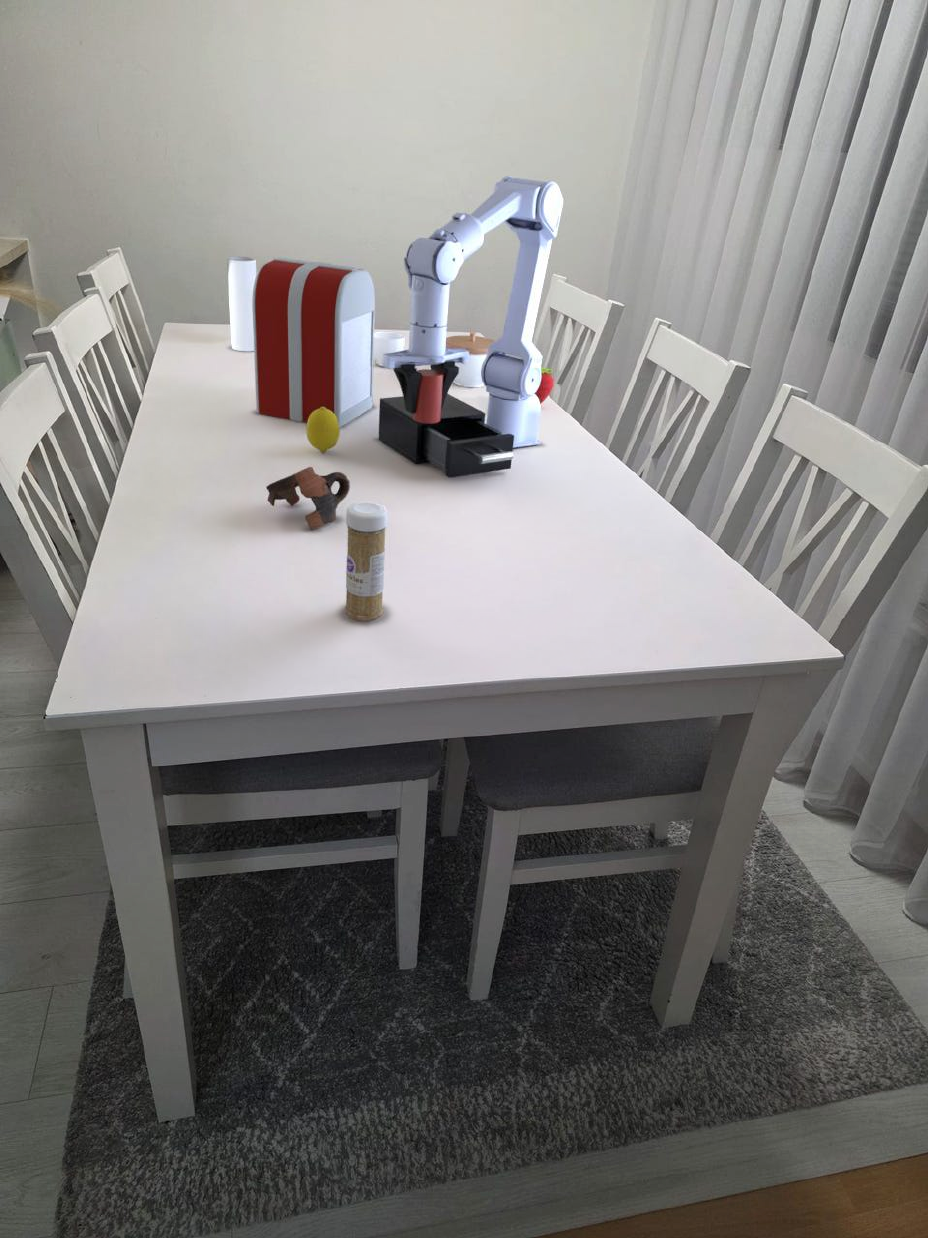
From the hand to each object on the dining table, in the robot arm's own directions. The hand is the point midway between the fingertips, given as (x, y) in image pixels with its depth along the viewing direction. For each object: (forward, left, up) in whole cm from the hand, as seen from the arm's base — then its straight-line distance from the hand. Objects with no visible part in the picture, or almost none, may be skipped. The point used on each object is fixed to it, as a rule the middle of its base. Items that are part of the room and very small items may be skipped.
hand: (423, 410), depth 142 cm
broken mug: (+24, +10, -11) cm, 28 cm away
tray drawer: (-8, +2, -10) cm, 13 cm away
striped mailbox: (+2, -37, -11) cm, 39 cm away
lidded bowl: (-39, -45, -11) cm, 61 cm away
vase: (-5, -87, -11) cm, 88 cm away
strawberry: (-42, -25, -11) cm, 50 cm away
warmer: (-8, -10, -10) cm, 17 cm away
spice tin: (0, +1, -1) cm, 2 cm away
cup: (-28, -64, -7) cm, 70 cm away
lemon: (+11, -14, -11) cm, 21 cm away
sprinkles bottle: (+30, +39, -11) cm, 50 cm away
